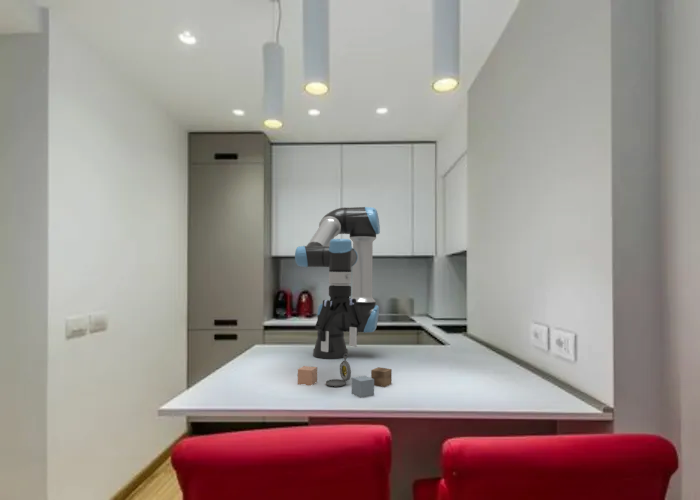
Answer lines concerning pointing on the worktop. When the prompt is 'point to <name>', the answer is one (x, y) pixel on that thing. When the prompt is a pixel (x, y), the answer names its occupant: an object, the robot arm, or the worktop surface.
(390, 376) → the walnut cube
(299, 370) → the terracotta cube
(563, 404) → the worktop surface
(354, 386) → the slate cube
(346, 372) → the pocket watch
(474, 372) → the worktop surface
